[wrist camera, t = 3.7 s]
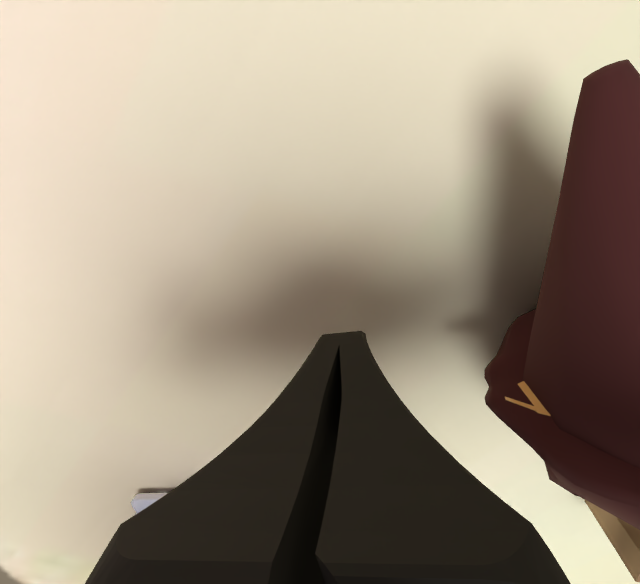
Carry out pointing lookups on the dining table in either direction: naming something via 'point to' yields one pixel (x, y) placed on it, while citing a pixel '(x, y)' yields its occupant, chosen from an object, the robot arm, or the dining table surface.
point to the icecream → (586, 312)
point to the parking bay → (620, 538)
